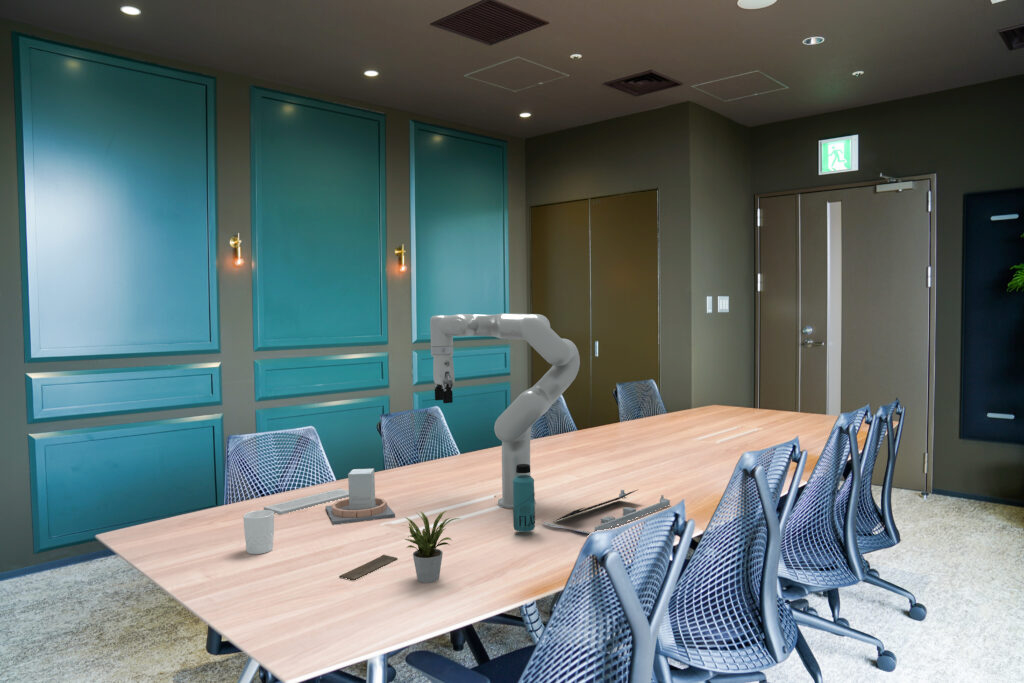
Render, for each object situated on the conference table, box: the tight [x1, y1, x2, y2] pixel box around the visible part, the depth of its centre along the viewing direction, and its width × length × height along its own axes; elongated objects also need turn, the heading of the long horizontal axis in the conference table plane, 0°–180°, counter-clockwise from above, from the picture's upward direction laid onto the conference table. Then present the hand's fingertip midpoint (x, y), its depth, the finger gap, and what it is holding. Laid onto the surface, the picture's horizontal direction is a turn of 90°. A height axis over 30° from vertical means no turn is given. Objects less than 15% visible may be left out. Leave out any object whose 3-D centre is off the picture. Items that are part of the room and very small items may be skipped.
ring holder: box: [325, 496, 396, 525], centre depth 220 cm, size 19×19×3 cm
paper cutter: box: [541, 489, 671, 535], centre depth 213 cm, size 18×45×6 cm, turn 136°
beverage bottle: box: [512, 464, 536, 533], centre depth 196 cm, size 6×7×20 cm
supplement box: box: [347, 468, 376, 510], centre depth 220 cm, size 7×7×13 cm
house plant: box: [401, 510, 461, 584], centre depth 163 cm, size 14×14×16 cm
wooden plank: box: [338, 554, 398, 581], centre depth 171 cm, size 17×1×5 cm
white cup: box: [242, 509, 275, 555], centre depth 185 cm, size 8×8×10 cm
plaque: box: [263, 488, 349, 516], centre depth 235 cm, size 30×2×10 cm
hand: (443, 401), depth 233 cm, fingers open, 9 cm apart
